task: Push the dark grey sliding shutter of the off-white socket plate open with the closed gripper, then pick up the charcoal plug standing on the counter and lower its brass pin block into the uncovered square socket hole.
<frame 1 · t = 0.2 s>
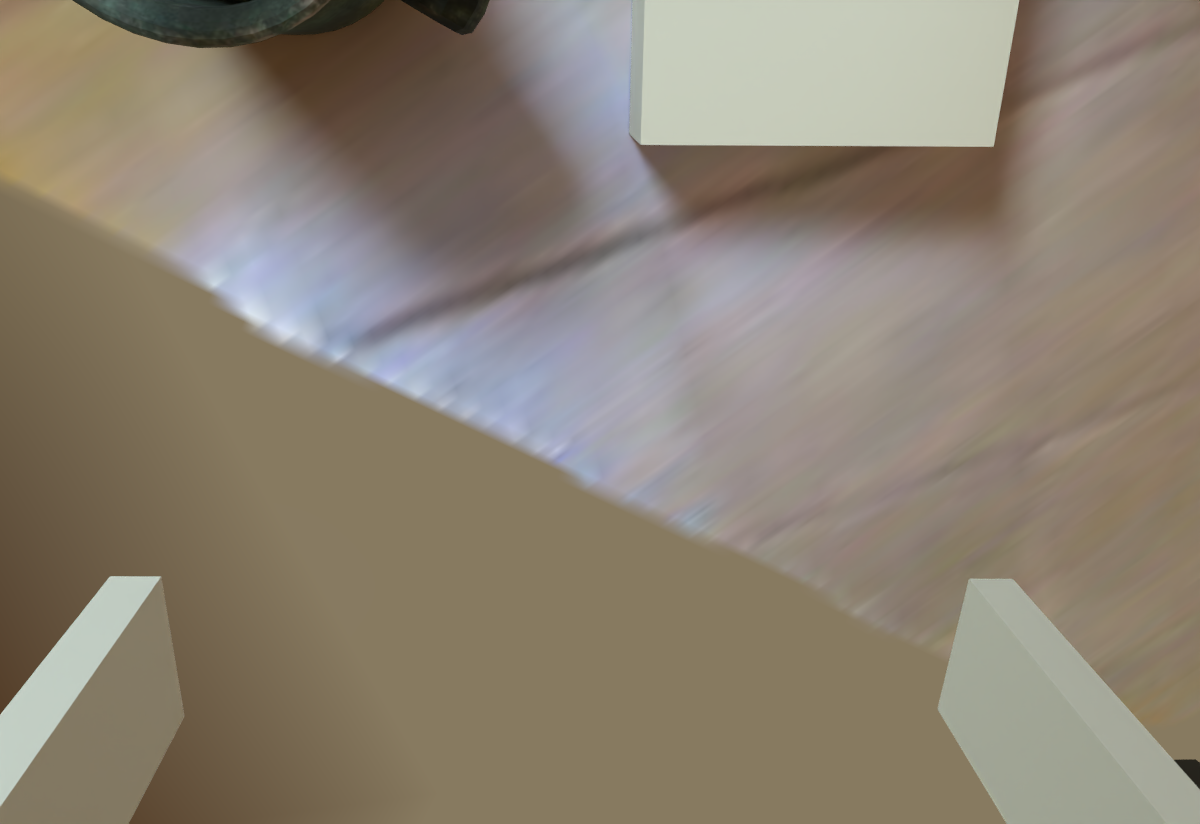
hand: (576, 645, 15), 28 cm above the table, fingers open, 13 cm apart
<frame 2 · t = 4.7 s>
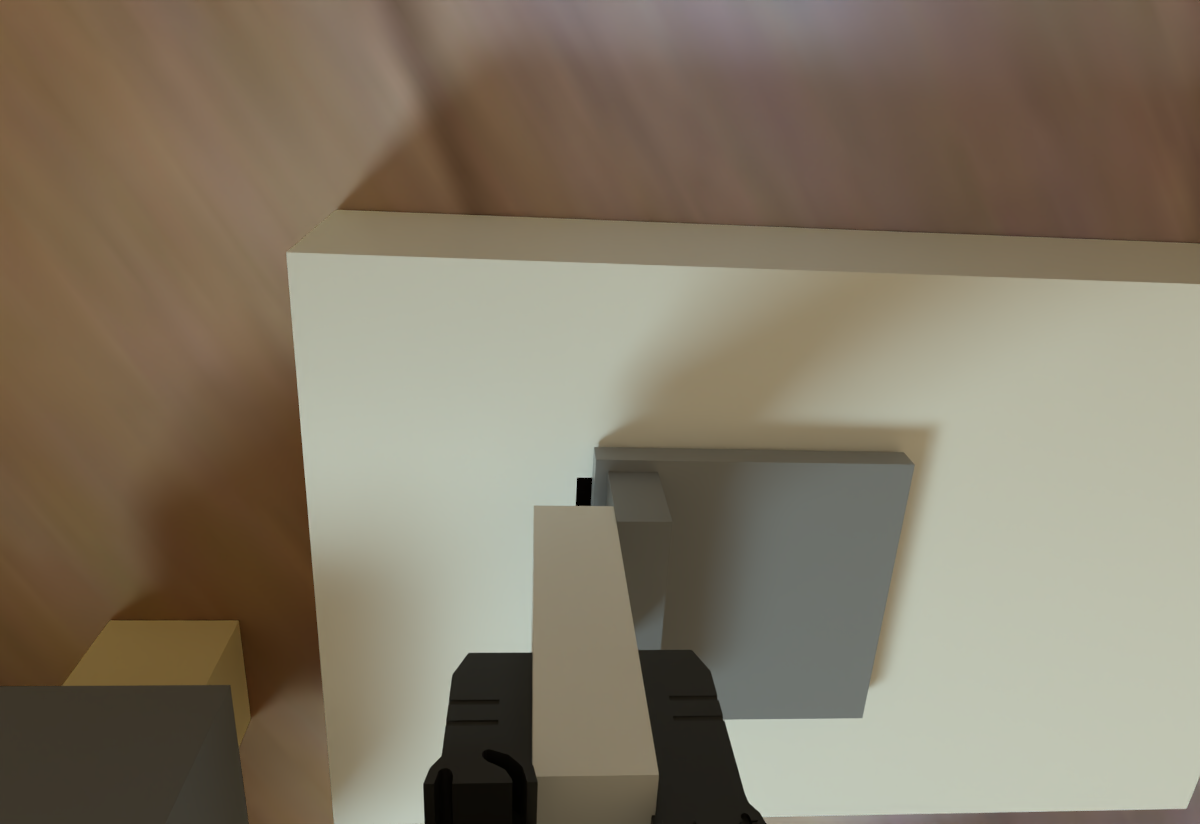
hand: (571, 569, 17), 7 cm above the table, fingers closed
plug: (182, 671, 25), on the table
socket: (768, 488, 24), on the table
shutter: (747, 618, 18), point 6 cm above the table, slide at 1.1 cm, touching gripper
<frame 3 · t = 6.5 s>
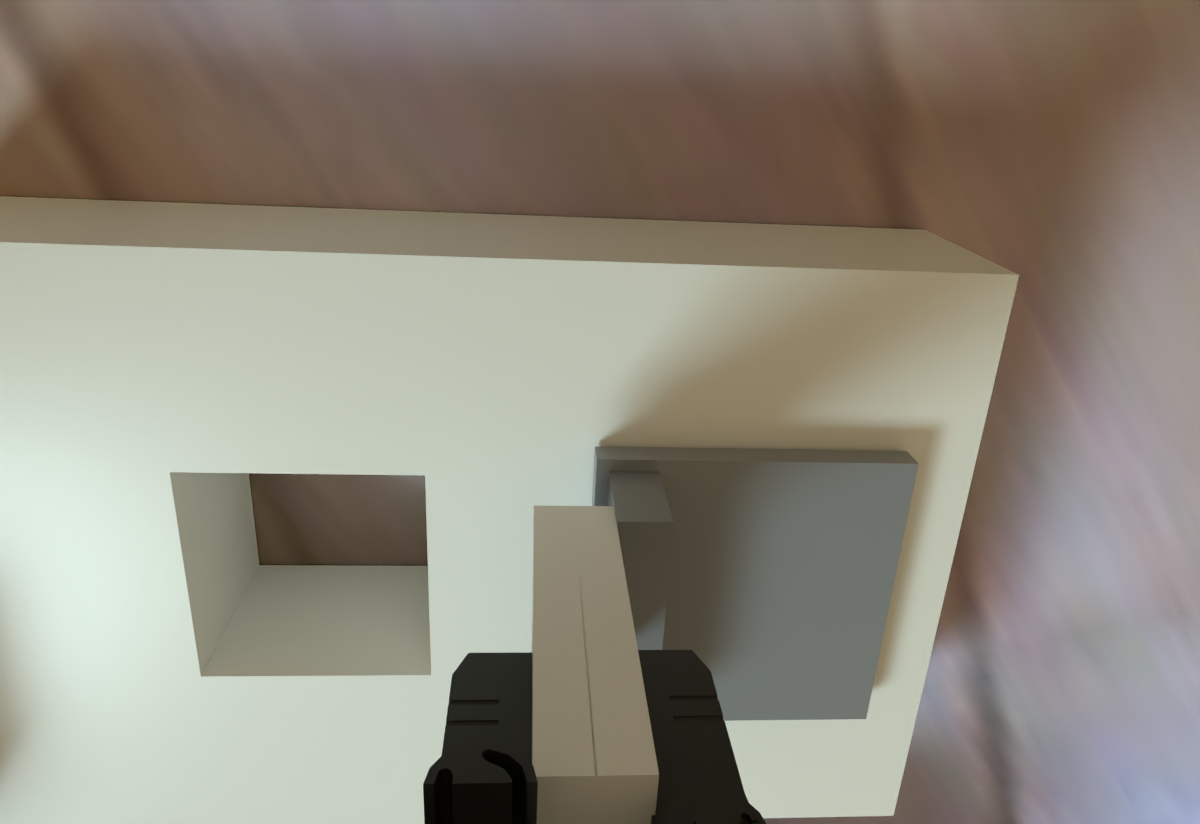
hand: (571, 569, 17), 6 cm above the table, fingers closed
socket: (466, 483, 23), on the table
shutter: (749, 619, 18), point 6 cm above the table, slide at 9.2 cm, touching gripper
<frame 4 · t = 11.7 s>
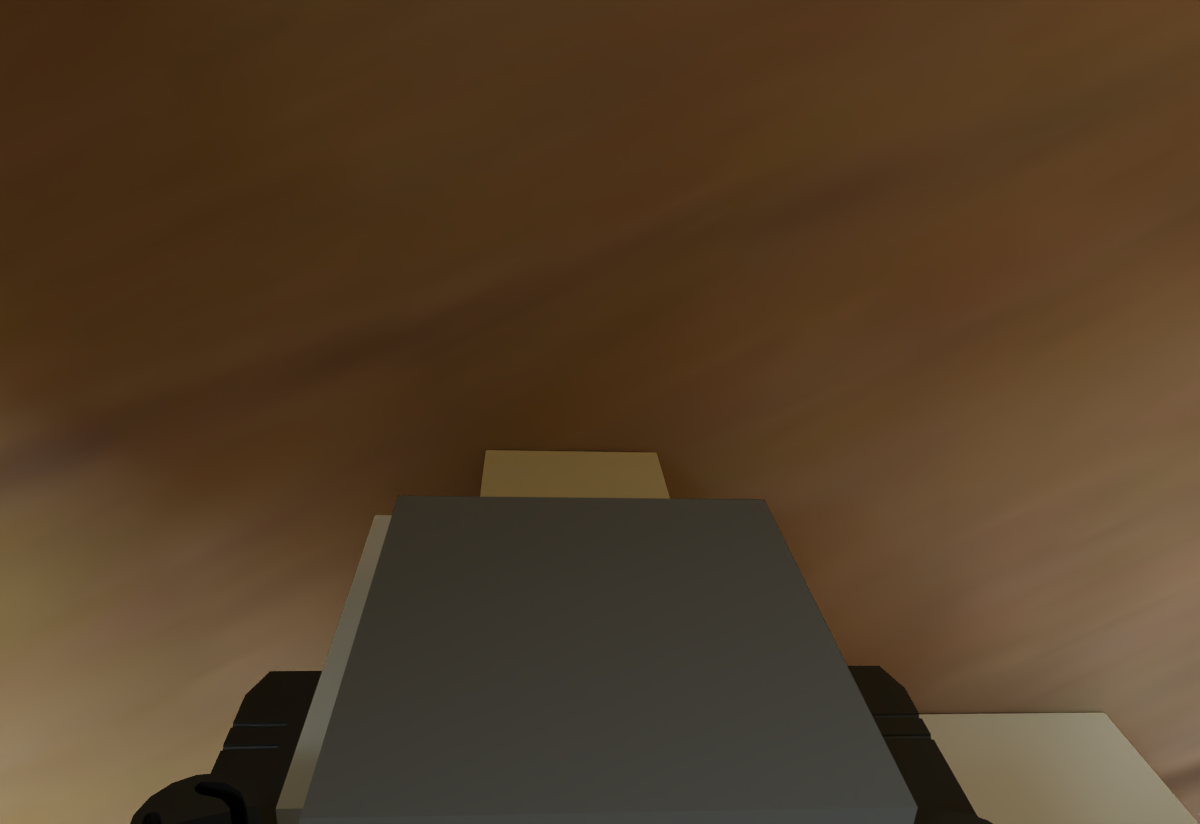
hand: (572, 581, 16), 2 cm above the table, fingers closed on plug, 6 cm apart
plug: (568, 526, 18), on the table, touching gripper
when the fingers open (5 cm above the table, at t = 15.7 s): plug drops 3 cm, resting on socket.
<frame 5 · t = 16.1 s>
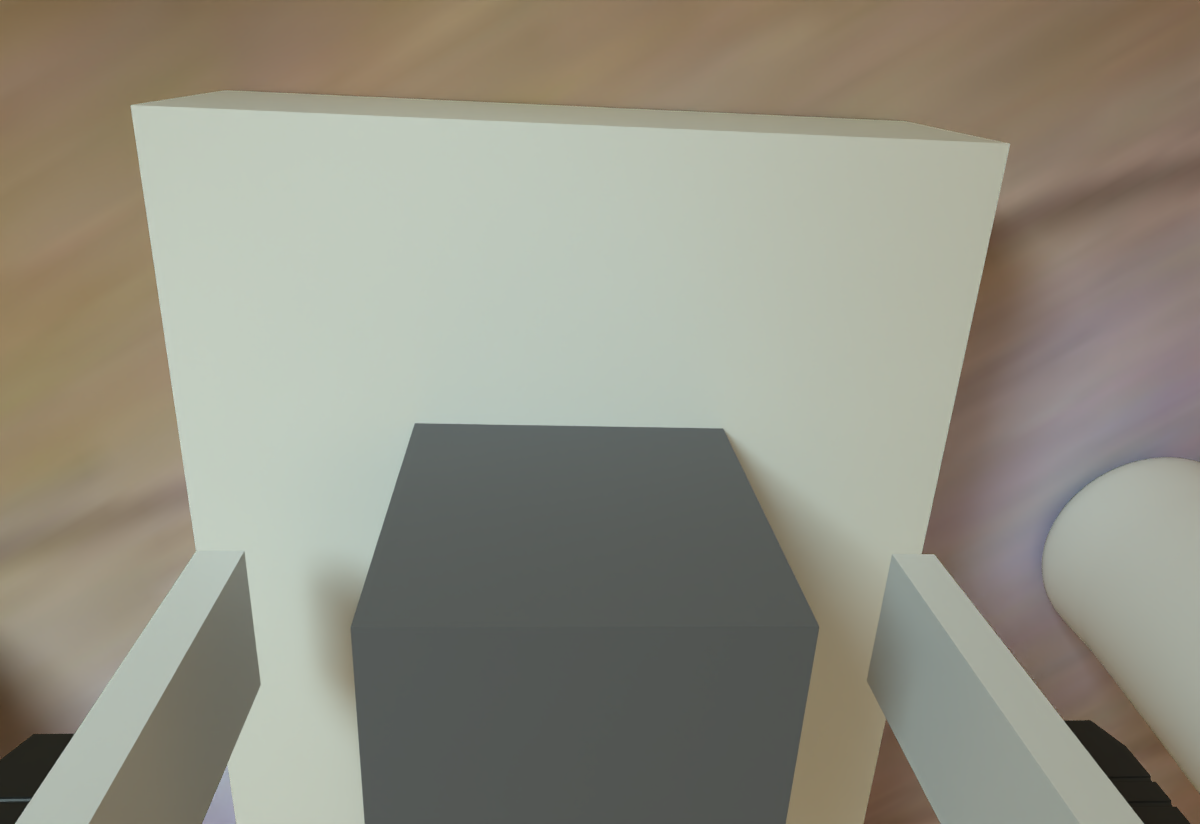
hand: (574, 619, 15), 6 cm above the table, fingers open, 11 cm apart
drinking glass: (1125, 535, 24), on the table
plug: (560, 467, 21), resting on socket
socket: (559, 564, 22), on the table
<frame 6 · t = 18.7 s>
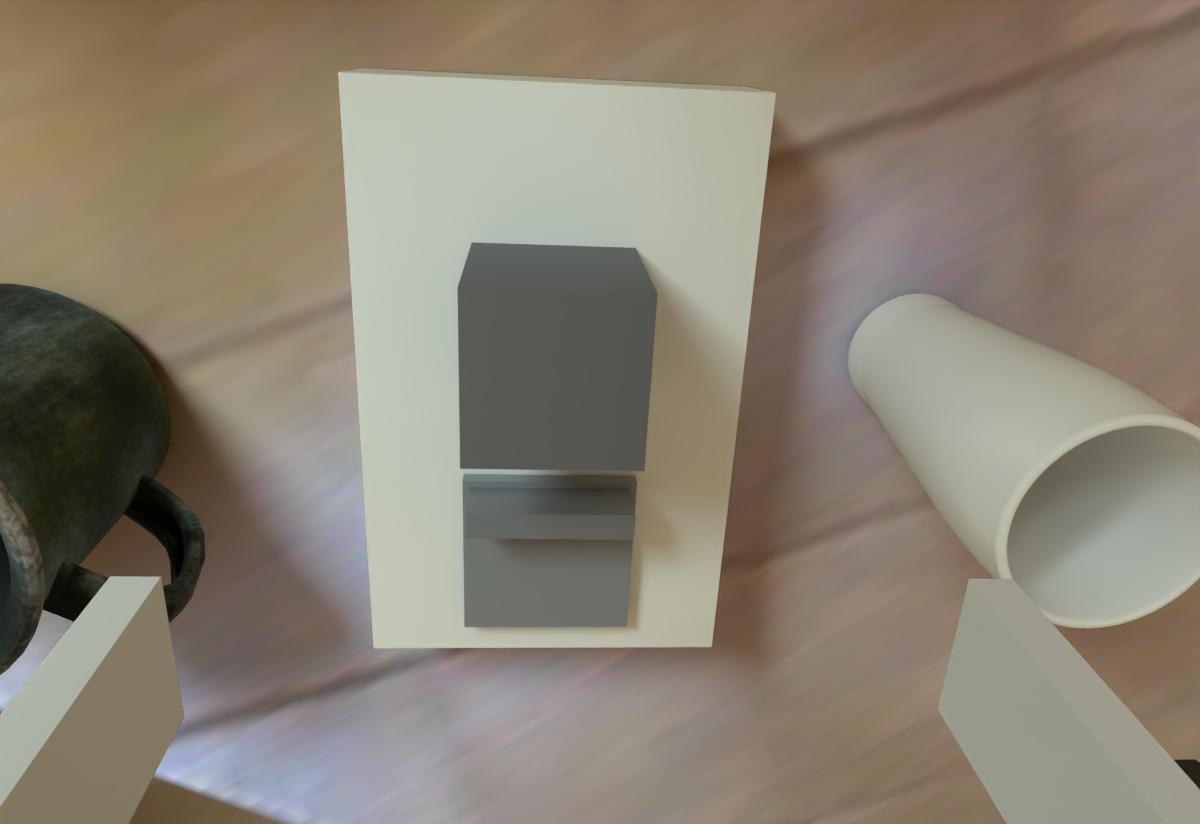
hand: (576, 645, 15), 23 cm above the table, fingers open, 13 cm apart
drinking glass: (902, 348, 38), on the table
plug: (550, 294, 35), resting on socket
socket: (550, 361, 37), on the table
mug: (87, 417, 37), on the table
shutter: (548, 567, 34), point 6 cm above the table, slide at 9.2 cm
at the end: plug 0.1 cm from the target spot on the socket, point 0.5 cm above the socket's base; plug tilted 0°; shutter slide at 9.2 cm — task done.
